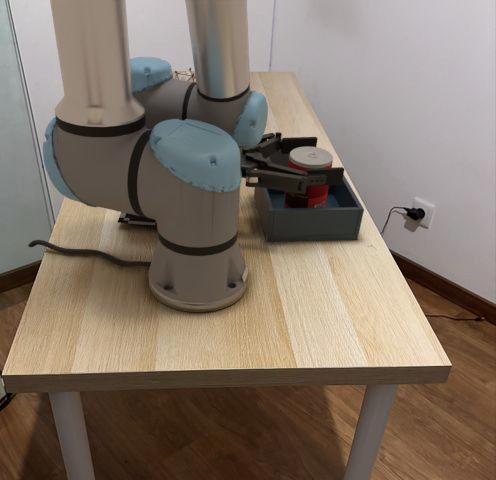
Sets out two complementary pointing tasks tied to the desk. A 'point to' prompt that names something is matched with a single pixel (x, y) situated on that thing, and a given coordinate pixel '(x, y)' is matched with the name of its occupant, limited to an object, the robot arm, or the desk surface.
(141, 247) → the desk surface
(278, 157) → the phone
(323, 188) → the canned food
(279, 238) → the bin
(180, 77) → the game die
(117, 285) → the desk surface
